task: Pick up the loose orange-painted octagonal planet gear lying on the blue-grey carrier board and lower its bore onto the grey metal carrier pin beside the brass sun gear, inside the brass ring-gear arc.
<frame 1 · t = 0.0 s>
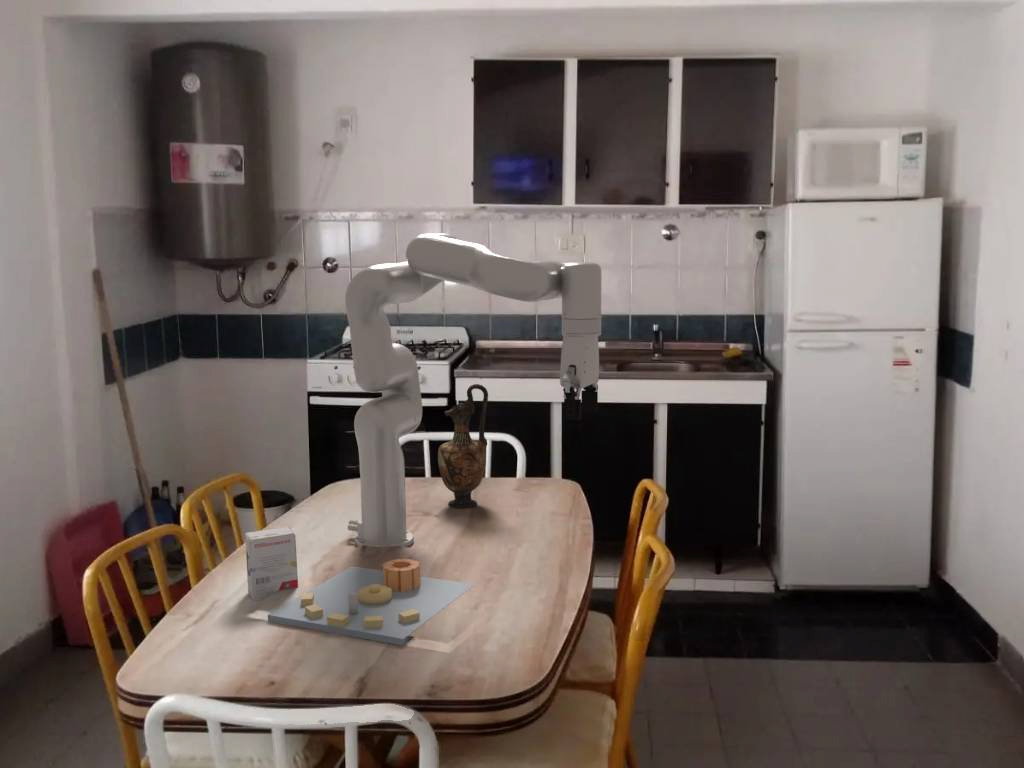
hand: (581, 415, 194), 31 cm above the table, fingers open, 9 cm apart
carrier board: (375, 605, 181), on the table
ink box: (273, 594, 188), on the table
planet gear: (401, 585, 188), point 1 cm above the table, touching carrier board
vase: (464, 505, 246), on the table
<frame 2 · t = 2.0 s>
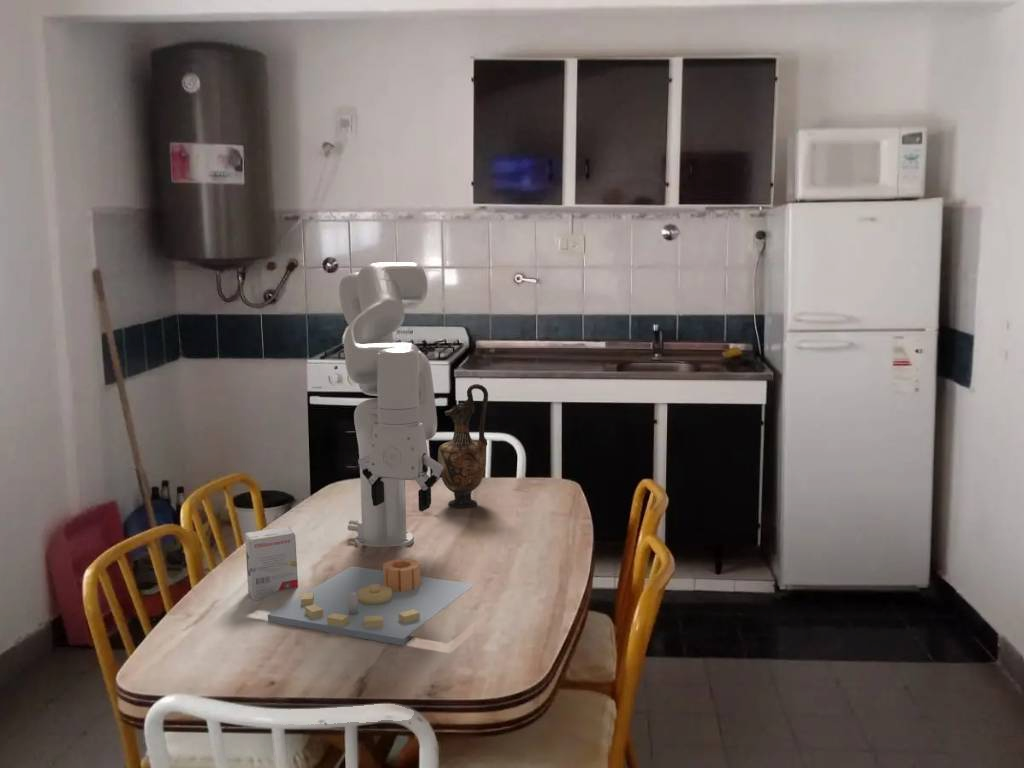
hand: (401, 506, 186), 16 cm above the table, fingers open, 9 cm apart
nothing on the table moved.
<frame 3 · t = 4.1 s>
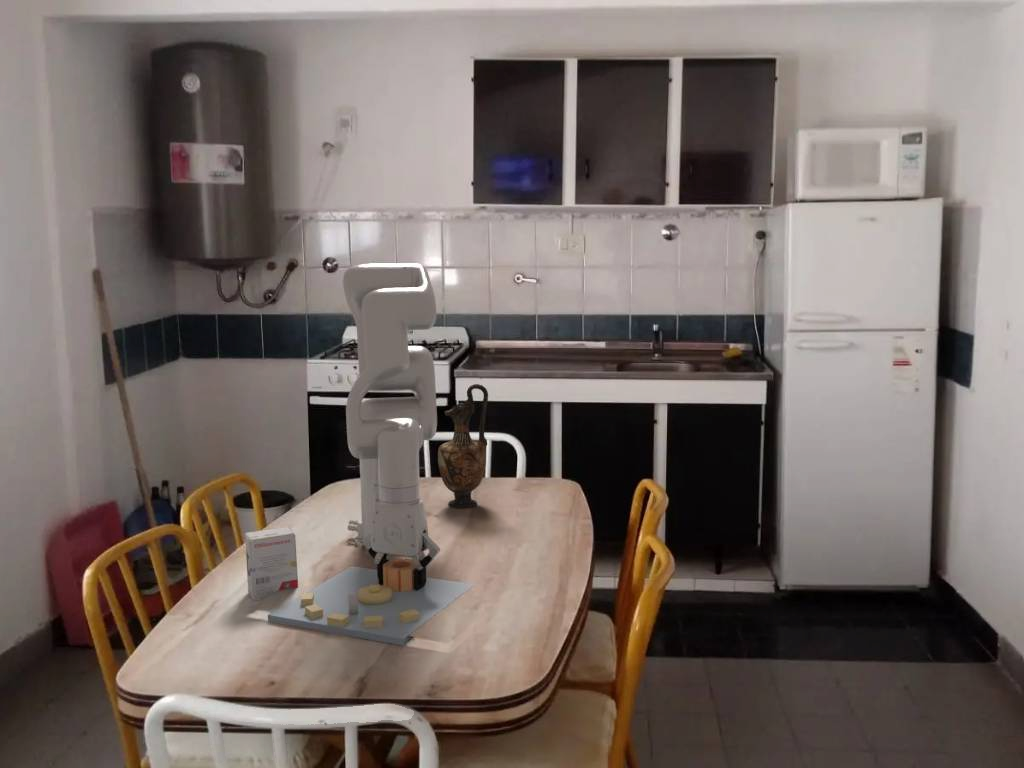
hand: (401, 584, 188), 1 cm above the table, fingers closed on carrier board, 6 cm apart
nothing on the table moved.
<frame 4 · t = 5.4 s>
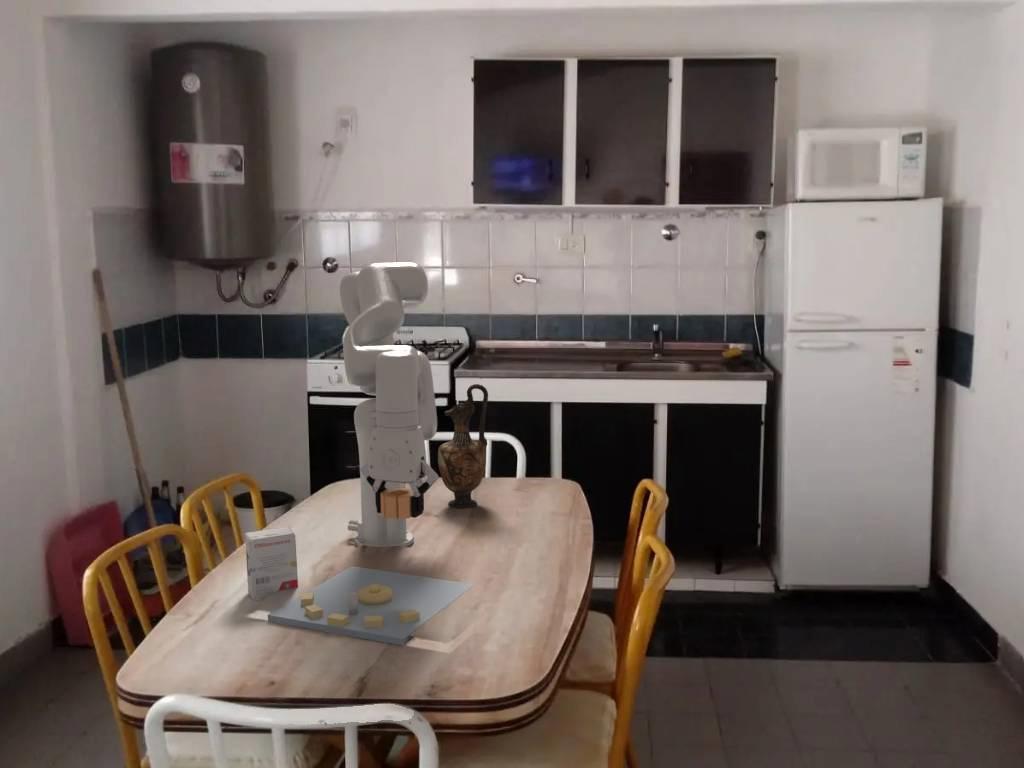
hand: (399, 512, 186), 15 cm above the table, fingers closed on planet gear, 6 cm apart
planet gear: (399, 513, 186), point 15 cm above the table, touching gripper
everything else where it was.
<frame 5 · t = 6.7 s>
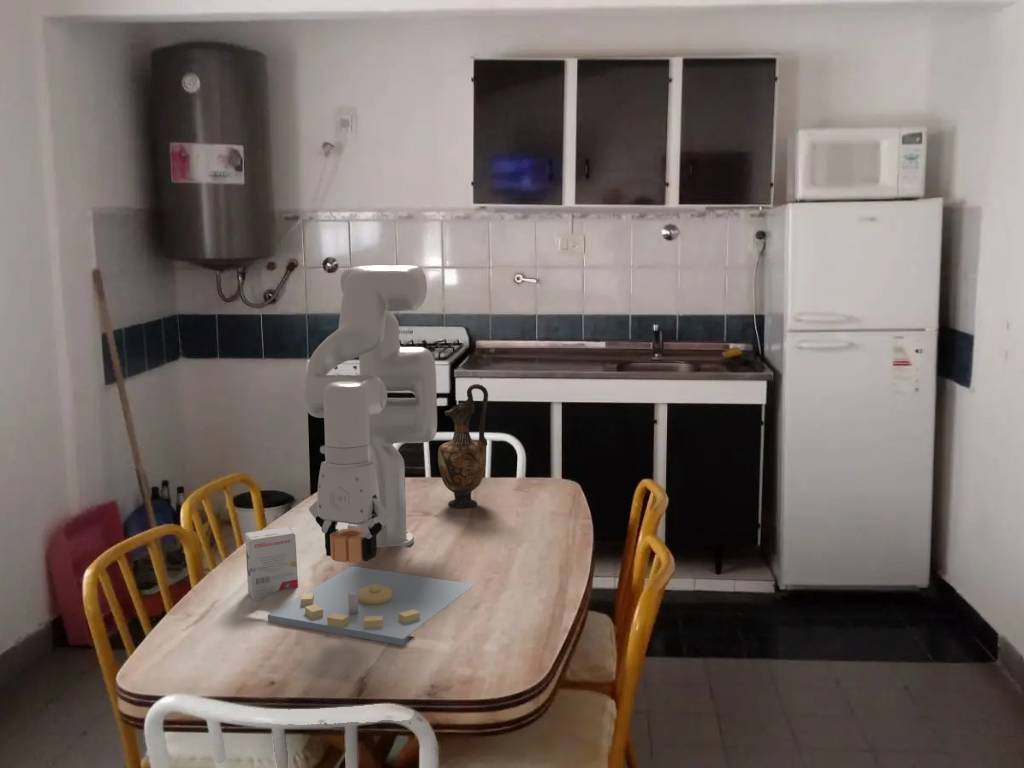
hand: (351, 555, 173), 12 cm above the table, fingers closed on planet gear, 6 cm apart
planet gear: (350, 556, 173), point 12 cm above the table, touching gripper
everything else where it was.
when the fingers open (3 cm above the table, at t = 8.9 s): planet gear drops 2 cm, resting on carrier board.
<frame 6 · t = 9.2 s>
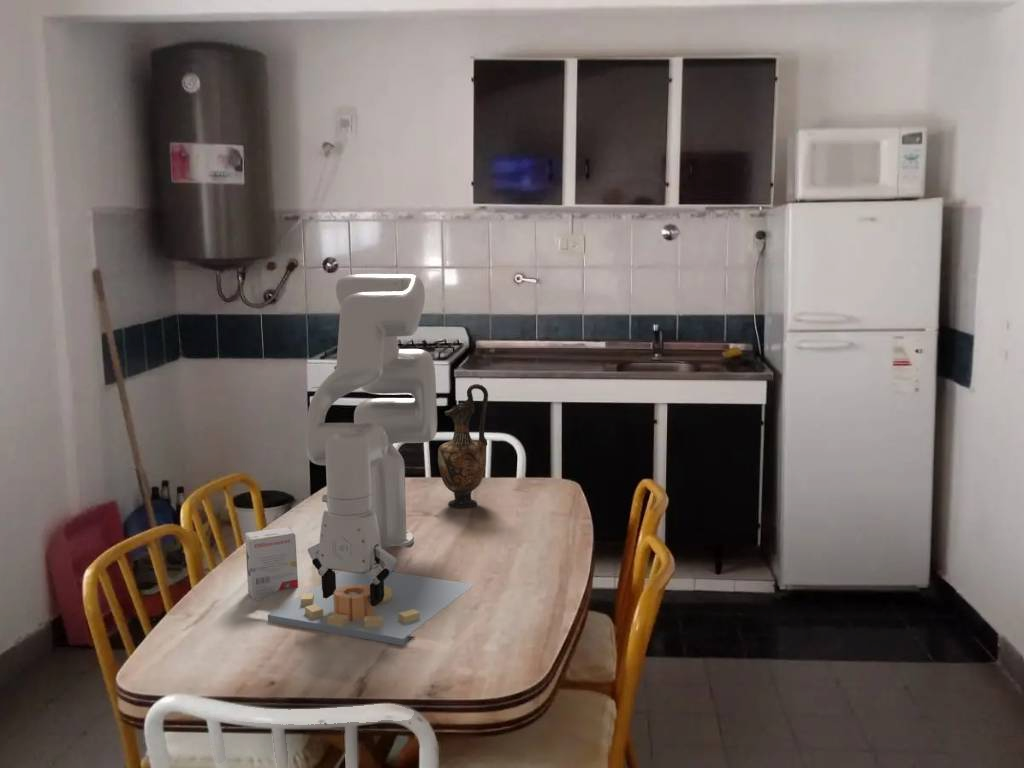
hand: (353, 599, 174), 4 cm above the table, fingers open, 9 cm apart
planet gear: (354, 613, 175), point 1 cm above the table, touching carrier board
everything else where it was.
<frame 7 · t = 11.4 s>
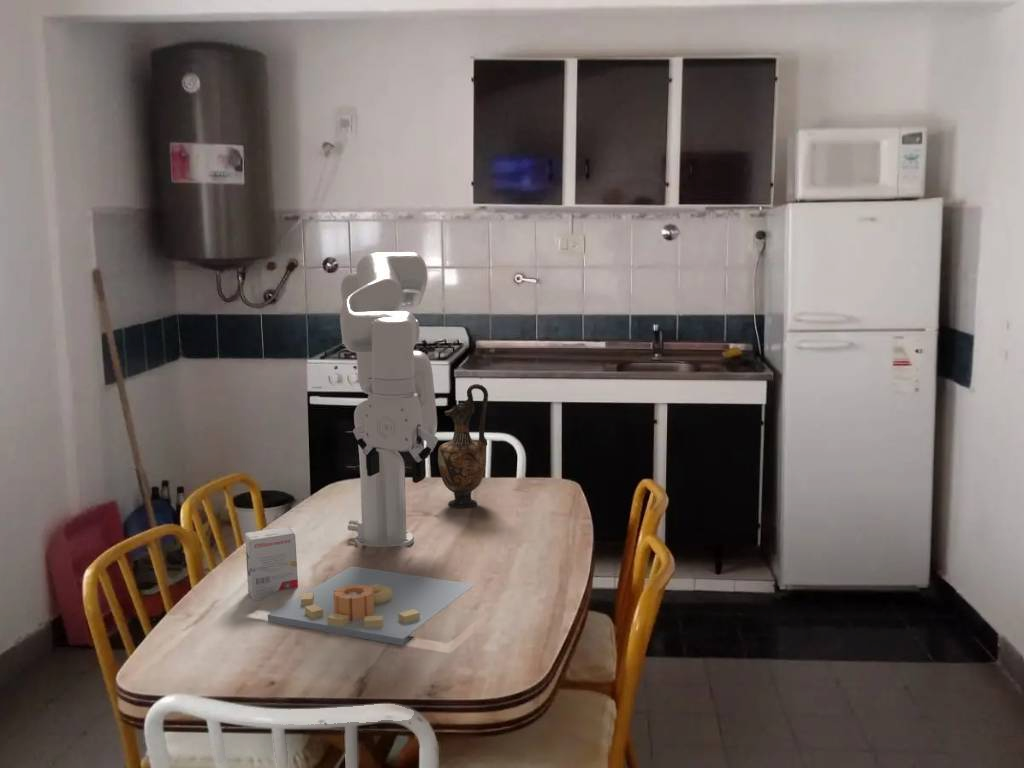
hand: (395, 477, 184), 22 cm above the table, fingers open, 9 cm apart
nothing on the table moved.
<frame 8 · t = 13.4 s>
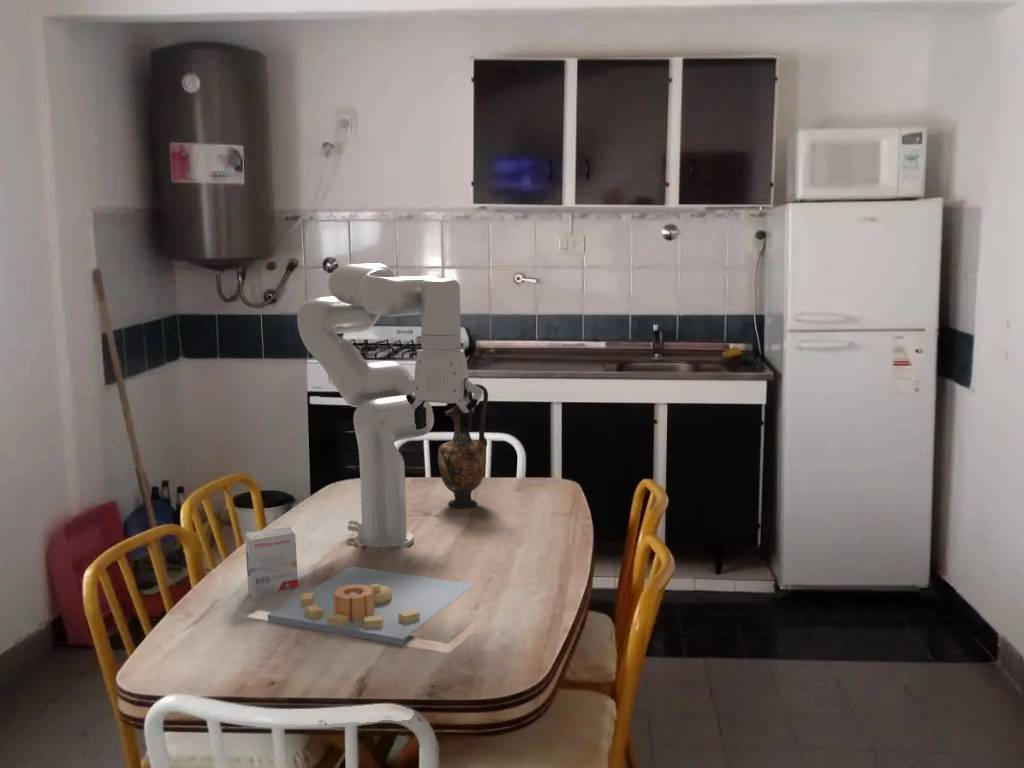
hand: (443, 430, 196), 28 cm above the table, fingers open, 9 cm apart
nothing on the table moved.
at the end: planet gear 0.2 cm from the target spot on the carrier board, point 1.2 cm above the carrier board's base; planet gear tilted 0°; the gripper is holding nothing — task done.
